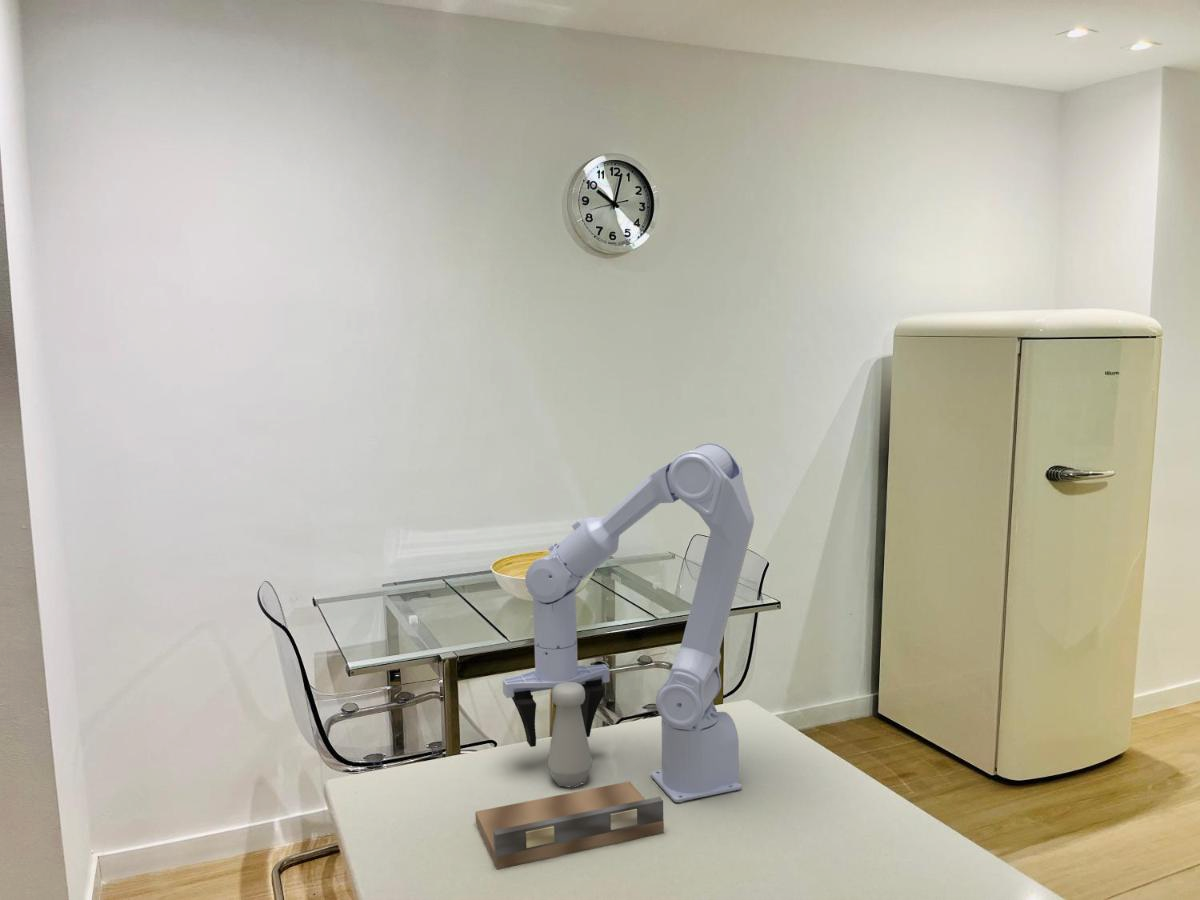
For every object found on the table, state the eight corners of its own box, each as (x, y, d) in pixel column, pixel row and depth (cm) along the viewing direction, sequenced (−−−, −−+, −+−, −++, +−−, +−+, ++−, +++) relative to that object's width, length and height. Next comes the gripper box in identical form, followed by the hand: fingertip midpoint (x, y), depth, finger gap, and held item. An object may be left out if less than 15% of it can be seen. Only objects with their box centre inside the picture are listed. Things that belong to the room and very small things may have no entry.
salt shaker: (587, 792, 119) (584, 695, 117) (543, 789, 120) (540, 692, 118) (596, 771, 125) (594, 678, 123) (554, 768, 126) (552, 675, 124)
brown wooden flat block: (630, 792, 119) (629, 762, 118) (664, 833, 109) (663, 801, 108) (475, 823, 112) (474, 791, 111) (497, 870, 102) (496, 835, 101)
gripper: (596, 627, 131) (598, 719, 133) (495, 640, 126) (499, 736, 128) (614, 642, 124) (616, 738, 126) (508, 656, 120) (512, 757, 121)
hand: (558, 739), depth 127 cm, fingers open, 7 cm apart
